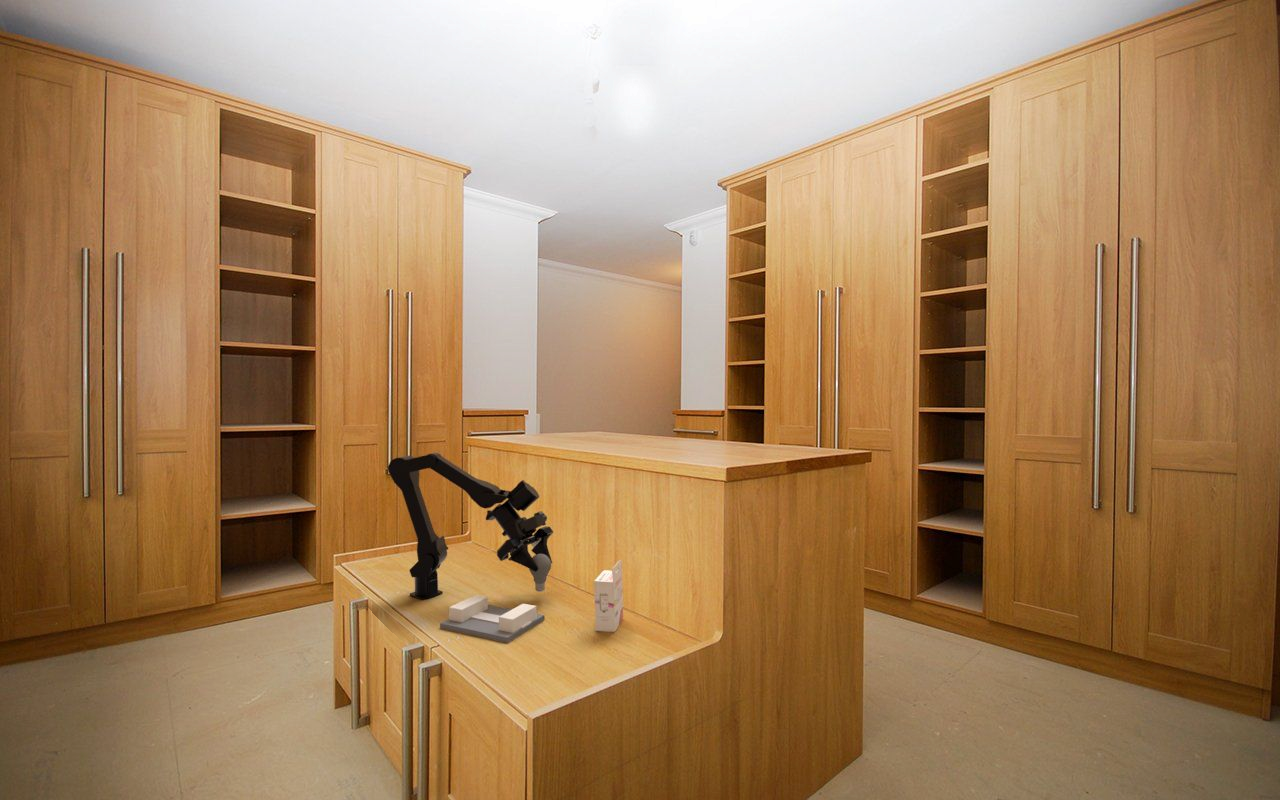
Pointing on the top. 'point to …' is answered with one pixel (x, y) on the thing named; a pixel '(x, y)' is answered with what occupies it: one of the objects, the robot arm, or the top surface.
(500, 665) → the top surface
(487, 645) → the top surface
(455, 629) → the rail board
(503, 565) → the top surface
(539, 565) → the light bulb
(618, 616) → the ink cartridge box
